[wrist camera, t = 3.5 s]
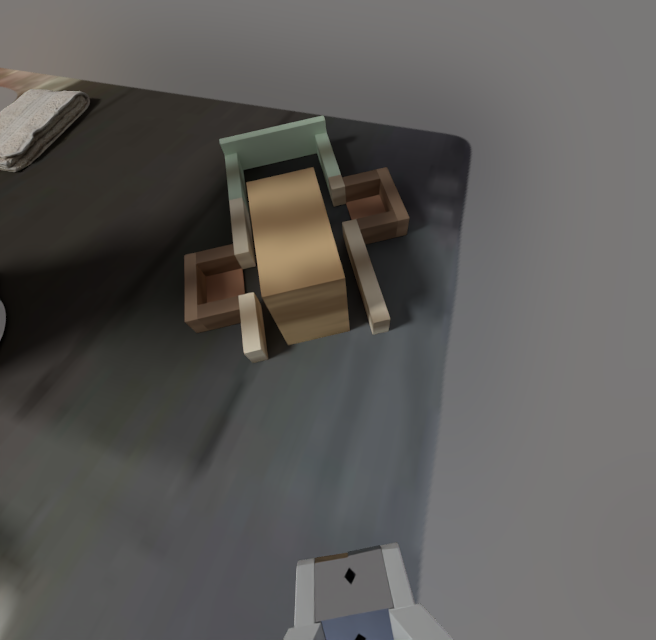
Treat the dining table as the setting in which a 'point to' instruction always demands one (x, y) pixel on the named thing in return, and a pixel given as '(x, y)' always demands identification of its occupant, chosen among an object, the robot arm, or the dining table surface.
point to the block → (297, 257)
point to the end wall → (275, 143)
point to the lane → (229, 261)
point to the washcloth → (36, 124)
